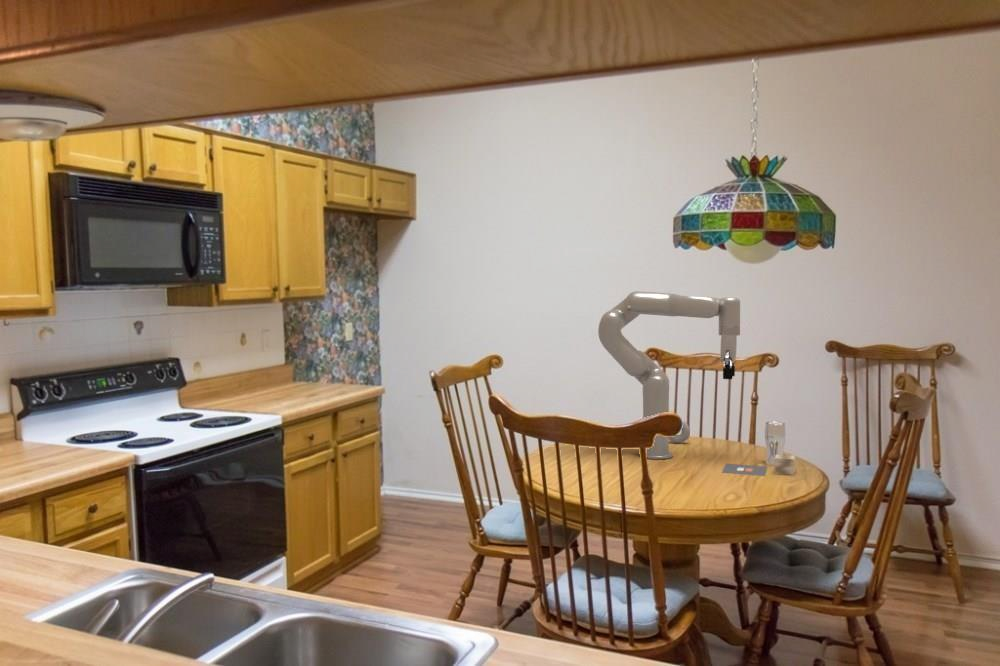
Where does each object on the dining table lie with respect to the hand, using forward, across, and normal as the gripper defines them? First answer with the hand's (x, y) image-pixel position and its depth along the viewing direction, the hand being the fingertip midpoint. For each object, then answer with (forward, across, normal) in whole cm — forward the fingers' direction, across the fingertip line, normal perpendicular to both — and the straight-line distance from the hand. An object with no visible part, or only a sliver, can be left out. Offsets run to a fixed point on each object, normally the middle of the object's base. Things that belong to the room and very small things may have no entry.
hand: (728, 377), depth 275 cm
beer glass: (+31, +4, +16) cm, 35 cm away
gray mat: (+30, +17, +7) cm, 35 cm away
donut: (+31, -22, -22) cm, 44 cm away
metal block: (+30, +17, +20) cm, 40 cm away
